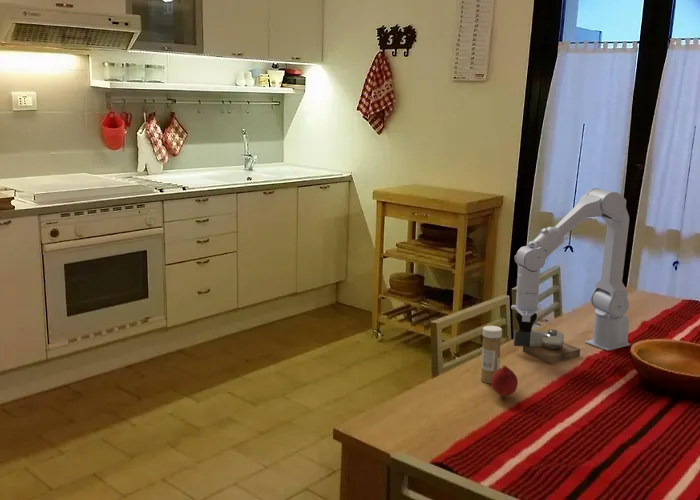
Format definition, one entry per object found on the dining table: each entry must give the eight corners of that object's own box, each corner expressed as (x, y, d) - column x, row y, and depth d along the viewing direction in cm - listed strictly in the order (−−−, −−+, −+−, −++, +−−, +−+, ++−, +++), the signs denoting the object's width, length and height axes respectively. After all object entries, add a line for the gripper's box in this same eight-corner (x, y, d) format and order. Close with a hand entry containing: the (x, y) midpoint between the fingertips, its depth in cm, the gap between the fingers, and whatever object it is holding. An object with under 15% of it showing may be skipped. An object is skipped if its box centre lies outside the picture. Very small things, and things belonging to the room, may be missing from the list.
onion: (517, 394, 161) (519, 361, 159) (515, 404, 156) (517, 370, 154) (492, 390, 163) (494, 358, 161) (488, 400, 158) (490, 367, 156)
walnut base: (551, 345, 194) (551, 337, 194) (579, 356, 186) (580, 348, 185) (522, 351, 189) (523, 344, 188) (550, 363, 180) (551, 355, 180)
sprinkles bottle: (503, 381, 168) (506, 328, 165) (489, 385, 166) (492, 332, 163) (489, 375, 172) (492, 323, 169) (476, 379, 169) (478, 326, 167)
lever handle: (560, 342, 189) (561, 327, 189) (565, 350, 184) (566, 334, 183) (512, 341, 190) (513, 326, 189) (516, 348, 184) (517, 333, 183)
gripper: (513, 283, 193) (510, 329, 196) (511, 297, 180) (508, 346, 183) (539, 285, 192) (536, 331, 195) (539, 299, 178) (536, 349, 181)
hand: (524, 339), depth 189 cm, fingers closed, pressing on lever handle
